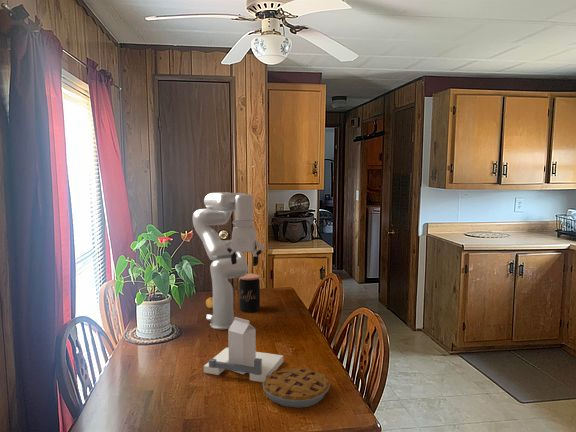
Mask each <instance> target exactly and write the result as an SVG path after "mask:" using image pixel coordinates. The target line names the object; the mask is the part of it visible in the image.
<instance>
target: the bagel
mask: <svg viewBox="0 0 576 432" xmlns="http://www.w3.org/2000/svg"><path fill="white" fill-rule="evenodd" d="M205 305H206V308H207V309H210V310H211V309H212V310H213V296H212V297H208V298H206V300H205Z"/></svg>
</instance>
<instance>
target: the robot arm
mask: <svg viewBox="0 0 576 432" xmlns="http://www.w3.org/2000/svg"><path fill="white" fill-rule="evenodd" d="M203 204H204V206H205V207H206V208H200V209H197V210H195V211H194V212H193V214H192V224H193V228H194V230H195V232H196V233H197V235H198V237H199V238H200V240H201V241H202V244H203V247H204V249H205V252H206V254H207V257H208V259H209V260H210V261H212V262H211V264H210V267H209V270H210V276H211V283H212V297H213V309H212V314H208V313H207V314H206V315H205V316H206V318H205V320H206V321H210V323H209V326H210V329H211V328H212V329H215V330H229V328H230V326H231V325H232V323H233V321H234V317H235V316H234V315H235V314H234V288H233V285H232V284H231V282H230V281H229V280H230V279H237V278H239V277H243V276H245V275H246V274H248V271H249V266H248V263H247V260H246V257H245V255H244V253H251V254H252V255H253V256H252V266H253V267H257V265H259V256H260V254H262V253H263V250H264V248H265V245H264V244H262V243H260V242H259V241H258V237H257V233H256V232H257V231H256V227H255V226H254V196H253V194H252V195H251V194H250V193H249V194H248V193H244V192H229V191H226V192H225V191H224V192H223V191H221V192H220V191H219V192H210V193H208V194H207V195H205V197H204V199H203ZM233 212H234V220H232V225H234V227H232V233H231V239H226V240H224V239H223V240H222V239H221V237H220V234H219V233H218V231H217V230H216V229H214V228H213V227H212V226H222V225H227V224H228V223H229V221H230V218H231V216H232V213H233ZM258 248H259V249H258ZM257 249H258V250H257Z"/></svg>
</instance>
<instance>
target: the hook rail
mask: <svg viewBox="0 0 576 432" xmlns="http://www.w3.org/2000/svg"><path fill="white" fill-rule="evenodd" d="M208 362H209V367H211V368H220V369H225V370H229V371H231V370H233V371H232V372H234V371H239V372H246V373H245V374H247V373H248V374H250V373H252V374H255V375H260V374H261V373H262V359H259V358H256V359H255V360H254V367H251V366H245V365H238V364H232V363H225V362H218V361H216V359H213V357H212V358H209V359H208Z"/></svg>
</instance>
